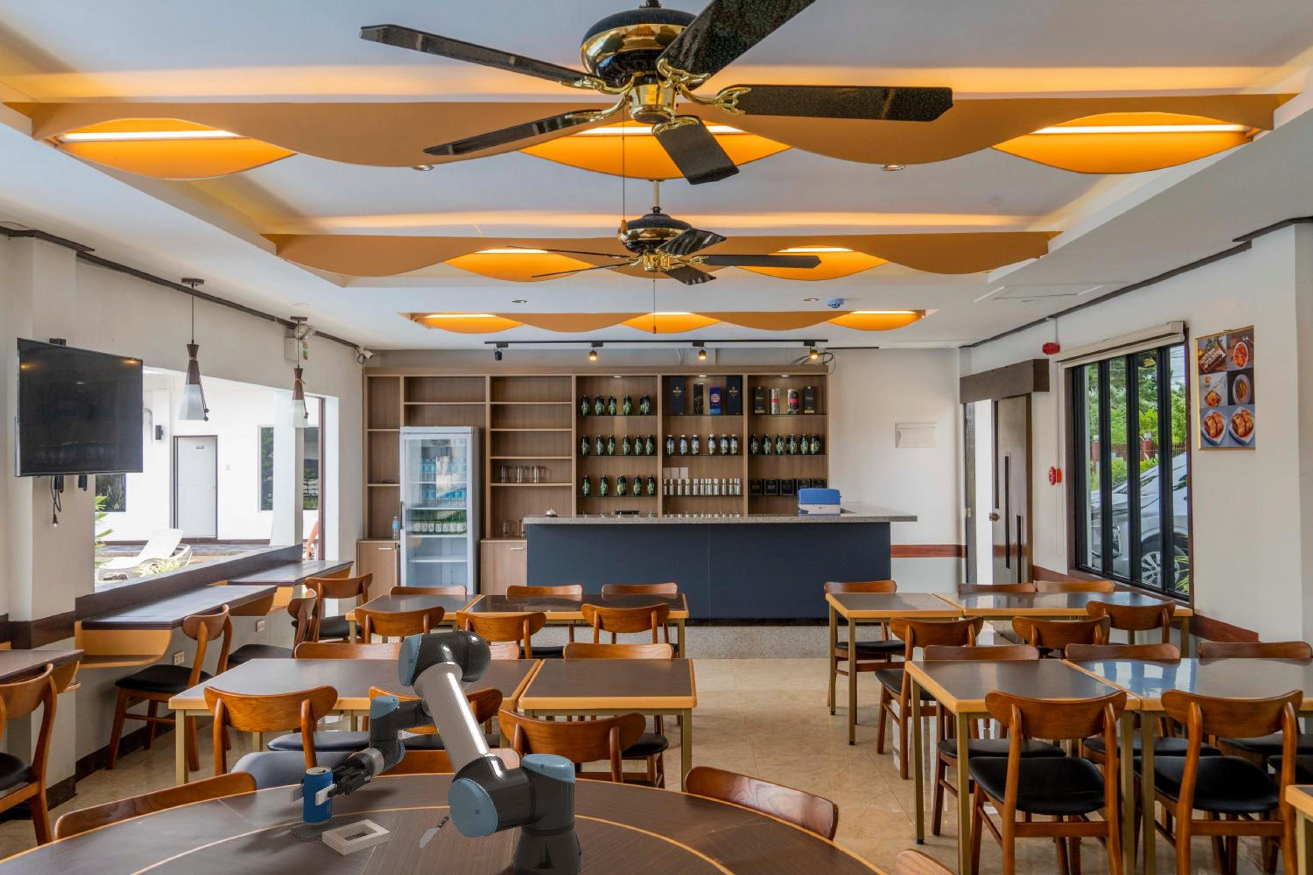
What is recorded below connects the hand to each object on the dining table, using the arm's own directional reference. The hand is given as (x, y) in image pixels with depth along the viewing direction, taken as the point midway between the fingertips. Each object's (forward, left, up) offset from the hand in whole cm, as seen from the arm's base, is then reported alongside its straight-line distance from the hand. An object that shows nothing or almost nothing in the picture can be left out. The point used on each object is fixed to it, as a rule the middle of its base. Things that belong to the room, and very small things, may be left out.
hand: (304, 797), depth 200 cm
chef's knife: (-18, -23, -10) cm, 31 cm away
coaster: (+3, -4, -10) cm, 11 cm away
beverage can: (+3, -4, -7) cm, 9 cm away
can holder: (-9, -8, -10) cm, 16 cm away
